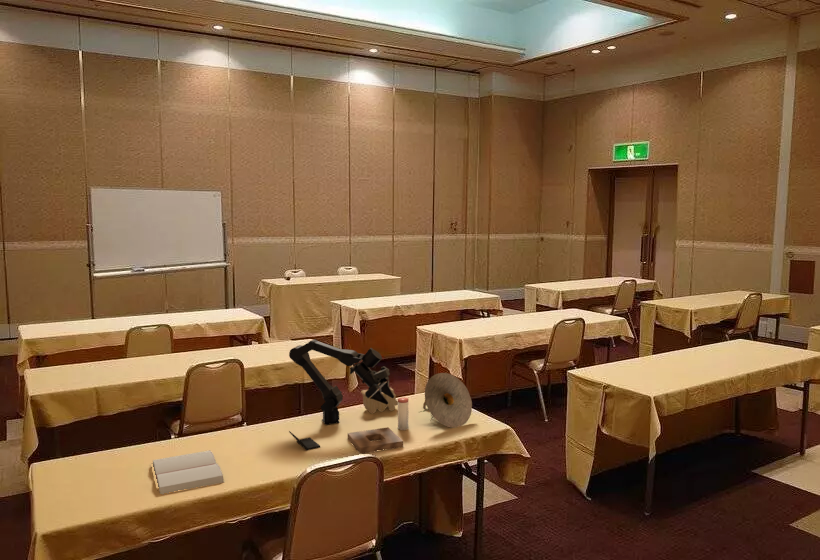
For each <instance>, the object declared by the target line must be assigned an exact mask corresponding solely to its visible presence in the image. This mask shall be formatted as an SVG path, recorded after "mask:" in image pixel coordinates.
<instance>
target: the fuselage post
mask: <svg viewBox="0 0 820 560" xmlns="http://www.w3.org/2000/svg"><path fill="white" fill-rule="evenodd" d="M397 401H398V405H397V429H398V430H399V429H400V431H406V429H407V430H409V398H408V397H398V398H397Z"/></svg>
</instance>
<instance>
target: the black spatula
mask: <svg viewBox="0 0 820 560" xmlns="http://www.w3.org/2000/svg"><path fill="white" fill-rule="evenodd" d="M288 433H289V434H290V435H291V436H292V437H293V438H294V439H295V440H296V443H297V444H299V445H300V446H301V447H302V448H303V449H304V450H305V451H311V450H314V449H315V450H316V449H319V448H321V445H320V444H319V443H318V442H317V441H315V440H314V439H312V437H305V438H298V437H297V435H295V434H294V433H293V432H292V431H290V430H288Z"/></svg>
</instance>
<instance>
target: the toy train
mask: <svg viewBox="0 0 820 560" xmlns="http://www.w3.org/2000/svg"><path fill="white" fill-rule="evenodd" d="M390 389H391V391H392V393H393V395H394V398H391V397H389V396H388V395H386V394H384V393H383V392H381V393H382V394H383V396H384V397H385V398H386V400H387V401H388V404H387V405H386V404H384V403H381V402H379V401H376V400H374V399H370V398H371V397H372V396H371V397H370V398H367V397H366V396H365V392H366V391H367V390H368V389H363V390H361V391H360V393H361V394H362V403H363V404H362V405H363V406H364V408H365V410H366V411H368V412H369V413H370V414H374V413H376V411H377V410H378V411H379V412H380V413H381V412H385V410H386V409H388V410H389V411H394V410H395V408H396V406H398V399H396V398H397V395H396V394H395V389H393V388H392V387H390Z"/></svg>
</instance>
